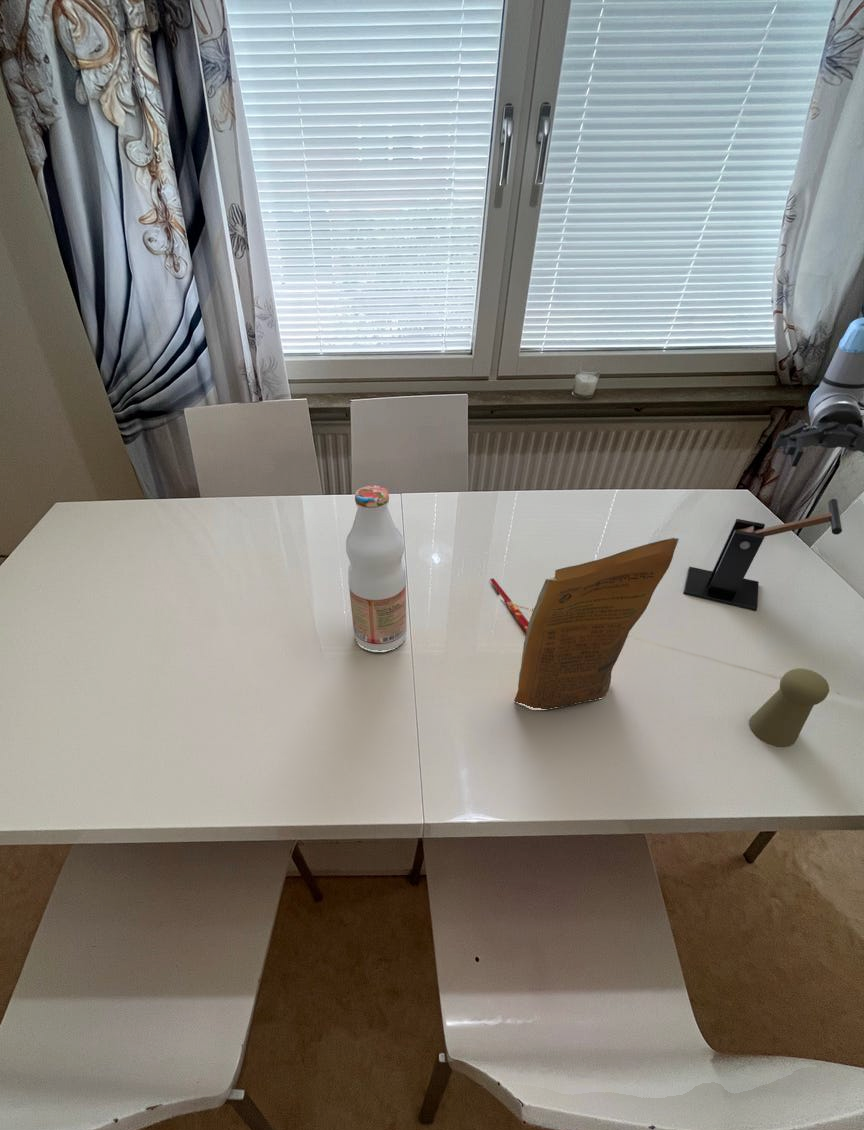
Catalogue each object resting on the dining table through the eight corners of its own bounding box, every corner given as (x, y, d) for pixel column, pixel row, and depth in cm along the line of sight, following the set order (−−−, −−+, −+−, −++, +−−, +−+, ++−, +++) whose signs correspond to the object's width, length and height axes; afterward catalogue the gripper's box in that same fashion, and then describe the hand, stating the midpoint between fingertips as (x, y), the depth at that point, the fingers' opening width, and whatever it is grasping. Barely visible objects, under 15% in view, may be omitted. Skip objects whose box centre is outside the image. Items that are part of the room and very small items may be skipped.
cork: (739, 719, 79) (772, 667, 71) (772, 709, 80) (808, 657, 72) (772, 751, 74) (812, 700, 67) (807, 740, 75) (849, 688, 68)
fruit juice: (346, 648, 93) (328, 503, 75) (365, 615, 100) (353, 474, 81) (397, 659, 91) (391, 512, 72) (413, 625, 97) (412, 482, 78)
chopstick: (494, 579, 106) (494, 576, 106) (555, 660, 89) (556, 656, 88) (485, 581, 106) (485, 578, 105) (545, 662, 89) (546, 658, 88)
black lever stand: (755, 586, 101) (790, 523, 92) (754, 614, 96) (791, 549, 86) (687, 571, 106) (713, 509, 96) (681, 596, 100) (709, 532, 91)
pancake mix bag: (633, 702, 82) (698, 547, 63) (516, 726, 79) (548, 573, 60) (610, 672, 87) (664, 519, 68) (499, 693, 84) (524, 542, 65)
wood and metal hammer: (838, 507, 88) (836, 494, 87) (843, 536, 81) (840, 523, 80) (739, 531, 97) (735, 520, 96) (736, 559, 91) (732, 547, 90)
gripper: (903, 451, 102) (922, 499, 88) (754, 432, 111) (751, 473, 98) (928, 410, 97) (953, 455, 83) (770, 395, 106) (769, 433, 93)
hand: (844, 465), depth 91 cm, fingers open, 13 cm apart
